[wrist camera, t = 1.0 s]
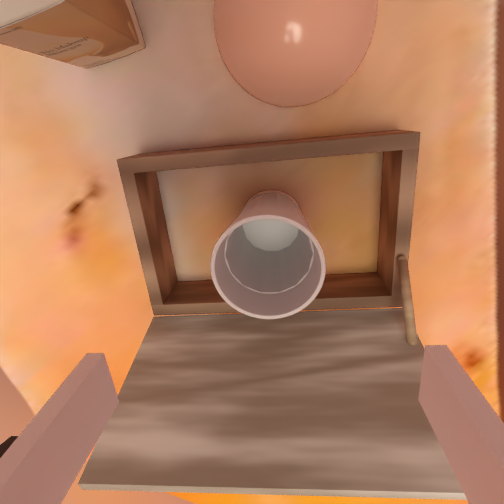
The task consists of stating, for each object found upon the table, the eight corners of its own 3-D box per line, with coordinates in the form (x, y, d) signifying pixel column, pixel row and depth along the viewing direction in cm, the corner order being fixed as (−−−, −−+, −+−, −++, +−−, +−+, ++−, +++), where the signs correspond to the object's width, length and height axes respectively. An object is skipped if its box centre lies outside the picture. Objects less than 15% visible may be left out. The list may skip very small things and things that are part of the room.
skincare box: (86, 70, 30) (-32, 41, 18) (64, 15, 28) (-80, -53, 17) (150, 47, 29) (66, 1, 17) (131, -11, 27) (24, -103, 16)
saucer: (205, -68, 25) (202, -74, 25) (378, -97, 24) (381, -104, 23) (225, 113, 30) (224, 113, 29) (371, 98, 29) (373, 98, 28)
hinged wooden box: (140, 153, 32) (-46, 200, 14) (398, 129, 29) (591, 149, 11) (174, 317, 39) (81, 491, 21) (386, 309, 36) (492, 503, 18)
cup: (268, 164, 32) (261, 189, 20) (327, 217, 33) (350, 267, 22) (217, 223, 34) (187, 273, 23) (274, 270, 36) (271, 338, 25)
